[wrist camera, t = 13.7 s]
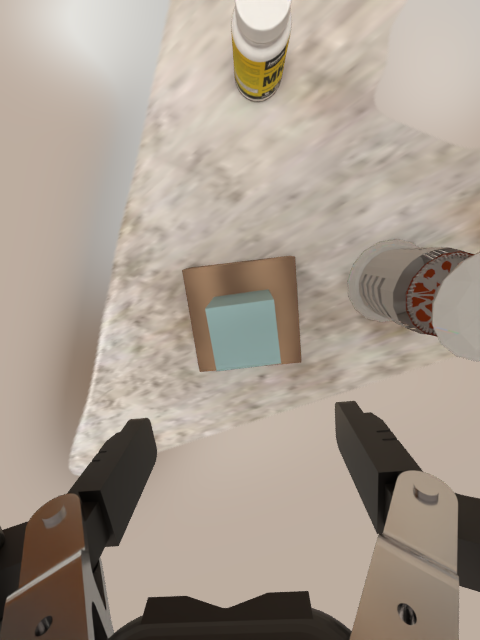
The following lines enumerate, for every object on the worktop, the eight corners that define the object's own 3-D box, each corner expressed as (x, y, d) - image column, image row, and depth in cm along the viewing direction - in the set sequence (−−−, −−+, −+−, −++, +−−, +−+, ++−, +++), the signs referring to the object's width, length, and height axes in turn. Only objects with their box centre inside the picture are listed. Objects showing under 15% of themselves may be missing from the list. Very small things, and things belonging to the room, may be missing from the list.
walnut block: (289, 255, 31) (295, 256, 27) (295, 349, 34) (301, 362, 30) (190, 267, 32) (182, 269, 28) (205, 358, 35) (199, 371, 31)
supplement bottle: (264, 113, 27) (271, 53, 19) (225, 84, 26) (215, 10, 18) (291, 64, 26) (311, -22, 18) (251, 33, 25) (252, -70, 17)
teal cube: (268, 289, 28) (273, 299, 22) (274, 341, 29) (281, 363, 24) (213, 296, 28) (205, 308, 23) (222, 347, 30) (216, 371, 24)
